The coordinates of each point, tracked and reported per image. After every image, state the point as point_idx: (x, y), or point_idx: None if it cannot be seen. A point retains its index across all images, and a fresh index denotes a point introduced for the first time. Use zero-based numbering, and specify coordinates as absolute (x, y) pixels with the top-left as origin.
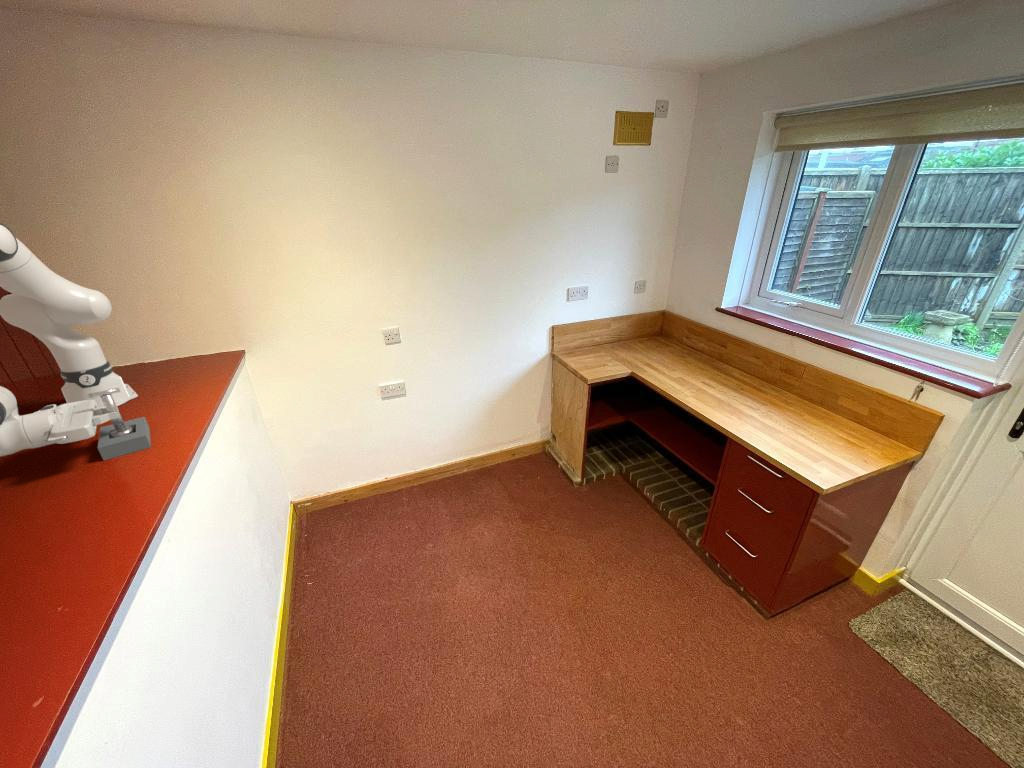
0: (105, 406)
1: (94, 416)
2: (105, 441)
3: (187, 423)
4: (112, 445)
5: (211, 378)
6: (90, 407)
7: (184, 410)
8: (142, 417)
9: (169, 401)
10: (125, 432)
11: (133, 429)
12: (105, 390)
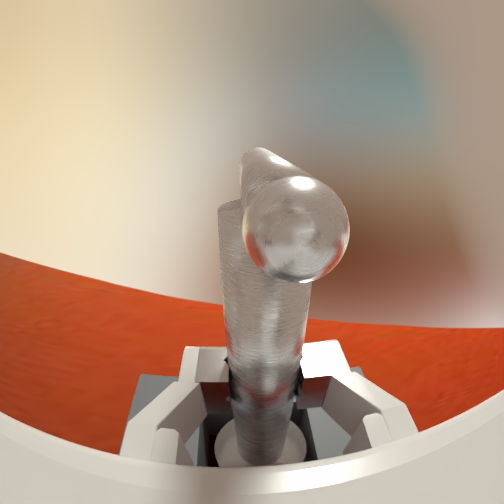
0: (295, 340)
1: (379, 440)
2: None
3: (210, 332)
4: None
5: (12, 275)
6: (121, 473)
7: (106, 327)
8: (143, 380)
9: (19, 336)
10: (299, 430)
11: (203, 430)
12: (262, 153)
